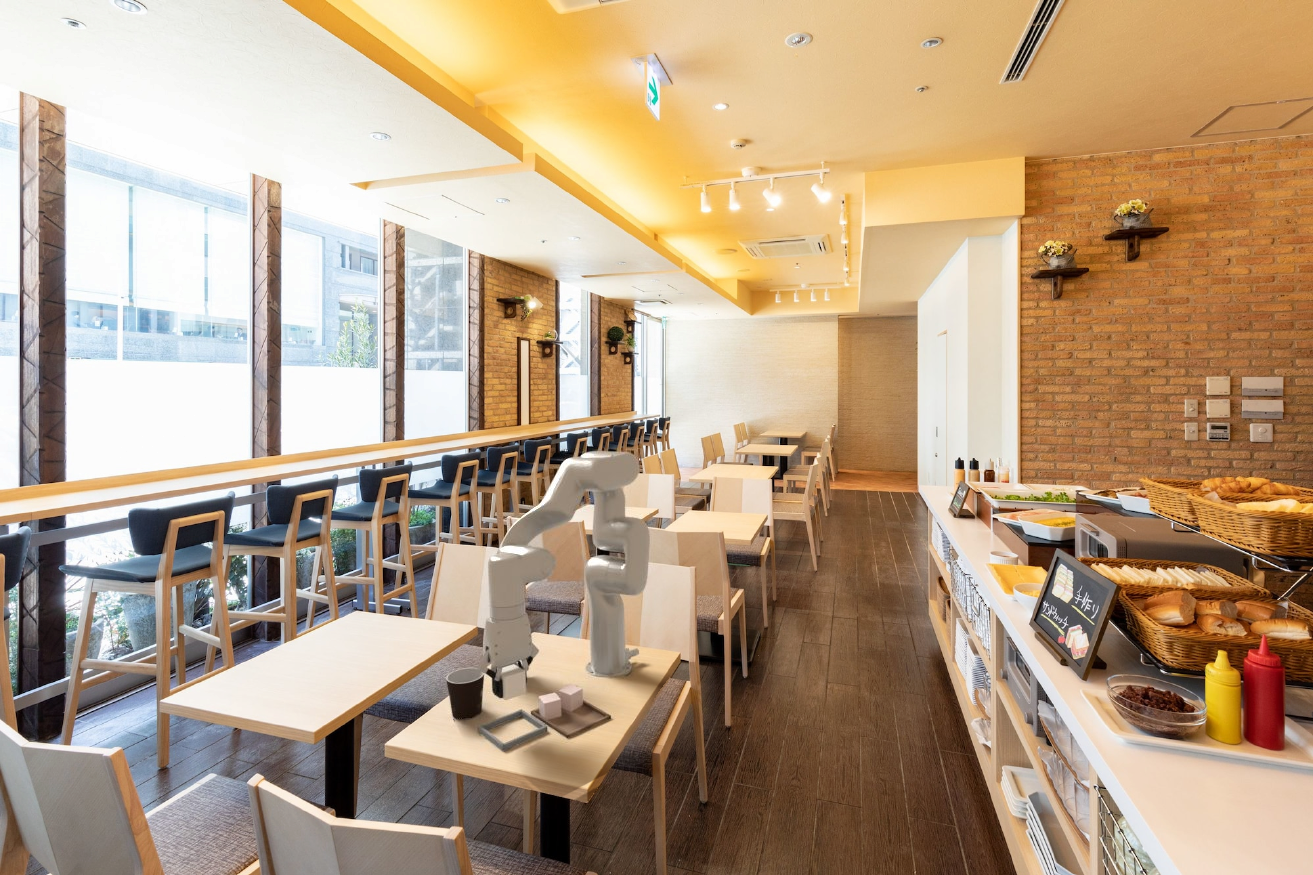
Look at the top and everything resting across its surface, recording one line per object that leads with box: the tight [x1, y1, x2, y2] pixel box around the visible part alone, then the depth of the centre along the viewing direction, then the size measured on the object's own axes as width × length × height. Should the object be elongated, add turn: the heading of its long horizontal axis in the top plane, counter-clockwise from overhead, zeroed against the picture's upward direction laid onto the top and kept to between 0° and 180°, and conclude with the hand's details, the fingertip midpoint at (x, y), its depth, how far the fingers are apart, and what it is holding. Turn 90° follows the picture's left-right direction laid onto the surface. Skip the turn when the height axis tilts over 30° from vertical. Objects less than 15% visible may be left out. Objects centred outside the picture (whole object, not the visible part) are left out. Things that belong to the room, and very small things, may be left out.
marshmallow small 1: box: [558, 684, 584, 711], centre depth 152 cm, size 4×4×4 cm
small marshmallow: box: [538, 692, 561, 720], centre depth 148 cm, size 4×4×4 cm
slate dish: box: [477, 708, 548, 752], centre depth 141 cm, size 11×11×2 cm
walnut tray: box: [530, 699, 612, 739], centre depth 147 cm, size 12×15×2 cm
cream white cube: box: [500, 664, 527, 701], centre depth 140 cm, size 5×5×5 cm
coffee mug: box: [445, 667, 485, 722], centre depth 152 cm, size 12×9×10 cm
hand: (509, 691), depth 140 cm, fingers closed on cream white cube, 4 cm apart
